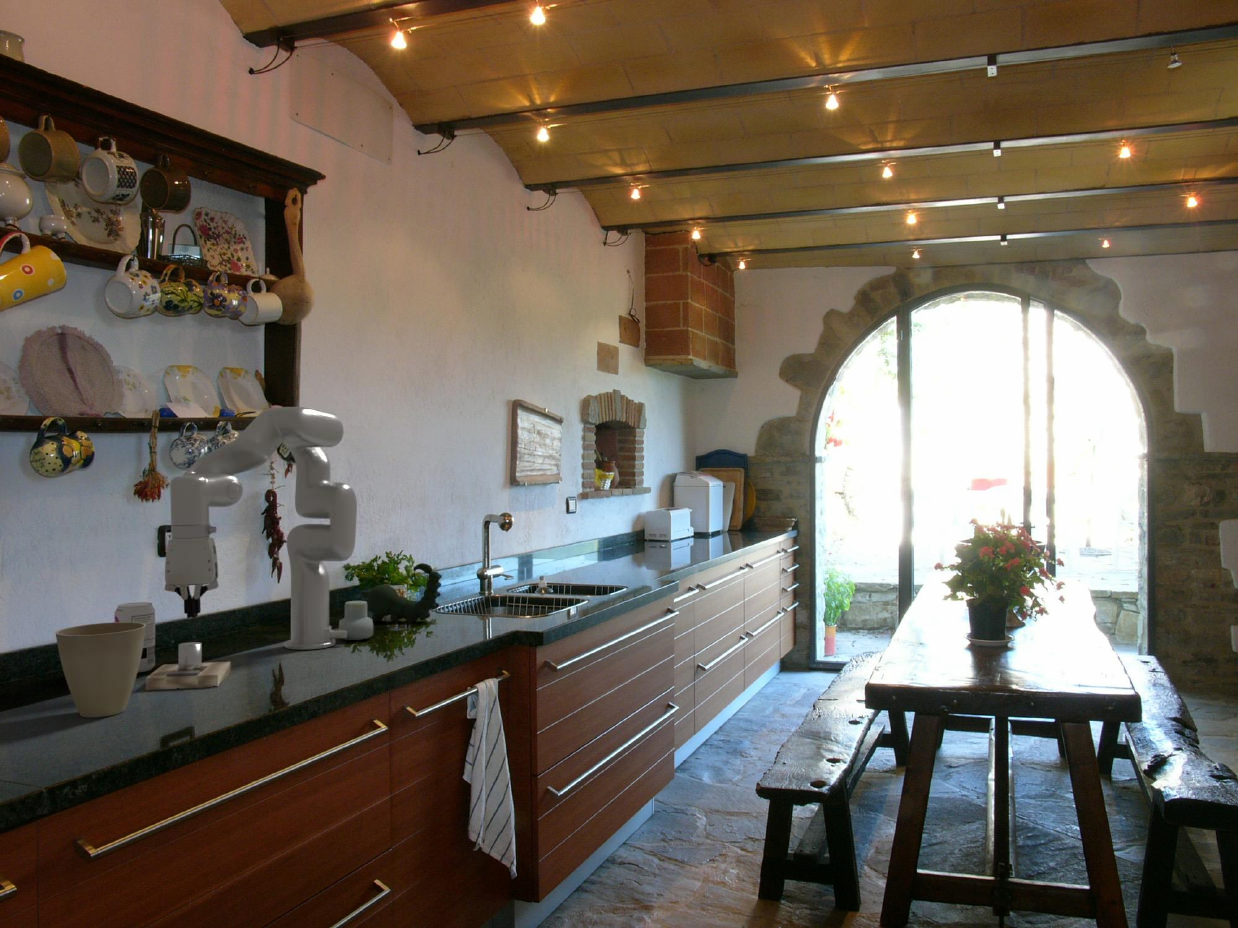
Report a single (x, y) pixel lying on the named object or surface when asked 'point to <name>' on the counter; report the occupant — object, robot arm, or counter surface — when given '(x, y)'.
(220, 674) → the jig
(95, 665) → the plant pot
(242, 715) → the counter surface
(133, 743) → the counter surface
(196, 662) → the bushing
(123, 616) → the supplement can
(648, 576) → the counter surface
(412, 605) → the toy figurine
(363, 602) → the air freshener
